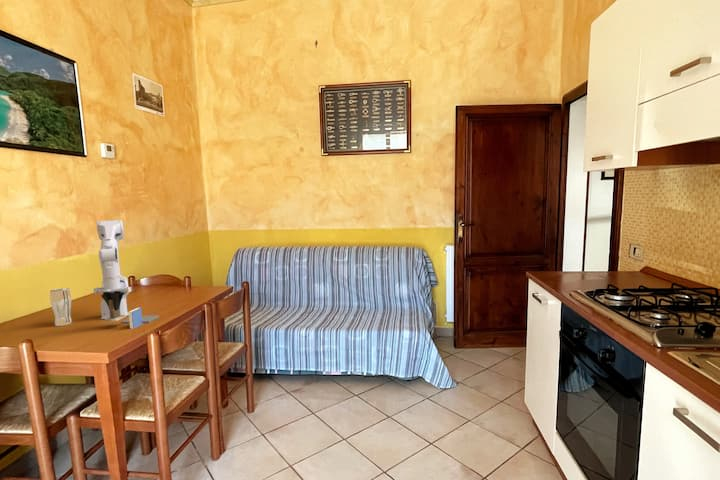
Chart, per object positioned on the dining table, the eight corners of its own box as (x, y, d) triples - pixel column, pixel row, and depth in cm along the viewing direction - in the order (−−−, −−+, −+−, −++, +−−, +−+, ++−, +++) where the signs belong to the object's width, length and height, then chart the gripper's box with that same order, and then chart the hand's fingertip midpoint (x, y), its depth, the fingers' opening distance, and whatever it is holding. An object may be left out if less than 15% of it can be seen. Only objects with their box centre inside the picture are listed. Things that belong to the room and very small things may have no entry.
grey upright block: (104, 321, 154) (102, 300, 153) (114, 316, 160) (112, 297, 159) (116, 321, 154) (114, 300, 153) (126, 316, 160) (124, 296, 159)
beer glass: (51, 327, 158) (47, 292, 157) (55, 322, 164) (51, 289, 163) (72, 324, 162) (68, 290, 160) (75, 320, 168) (71, 287, 166)
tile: (130, 328, 154) (128, 312, 153) (139, 323, 160) (137, 307, 159) (133, 328, 154) (132, 311, 153) (142, 323, 160) (140, 307, 159)
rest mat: (121, 323, 161) (121, 321, 161) (133, 317, 169) (132, 316, 169) (149, 322, 161) (148, 321, 161) (159, 316, 169) (159, 315, 169)
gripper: (86, 279, 151) (90, 312, 153) (122, 279, 151) (125, 312, 152) (99, 276, 158) (102, 307, 160) (133, 275, 158) (136, 307, 159)
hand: (114, 309), depth 157 cm, fingers closed on grey upright block
